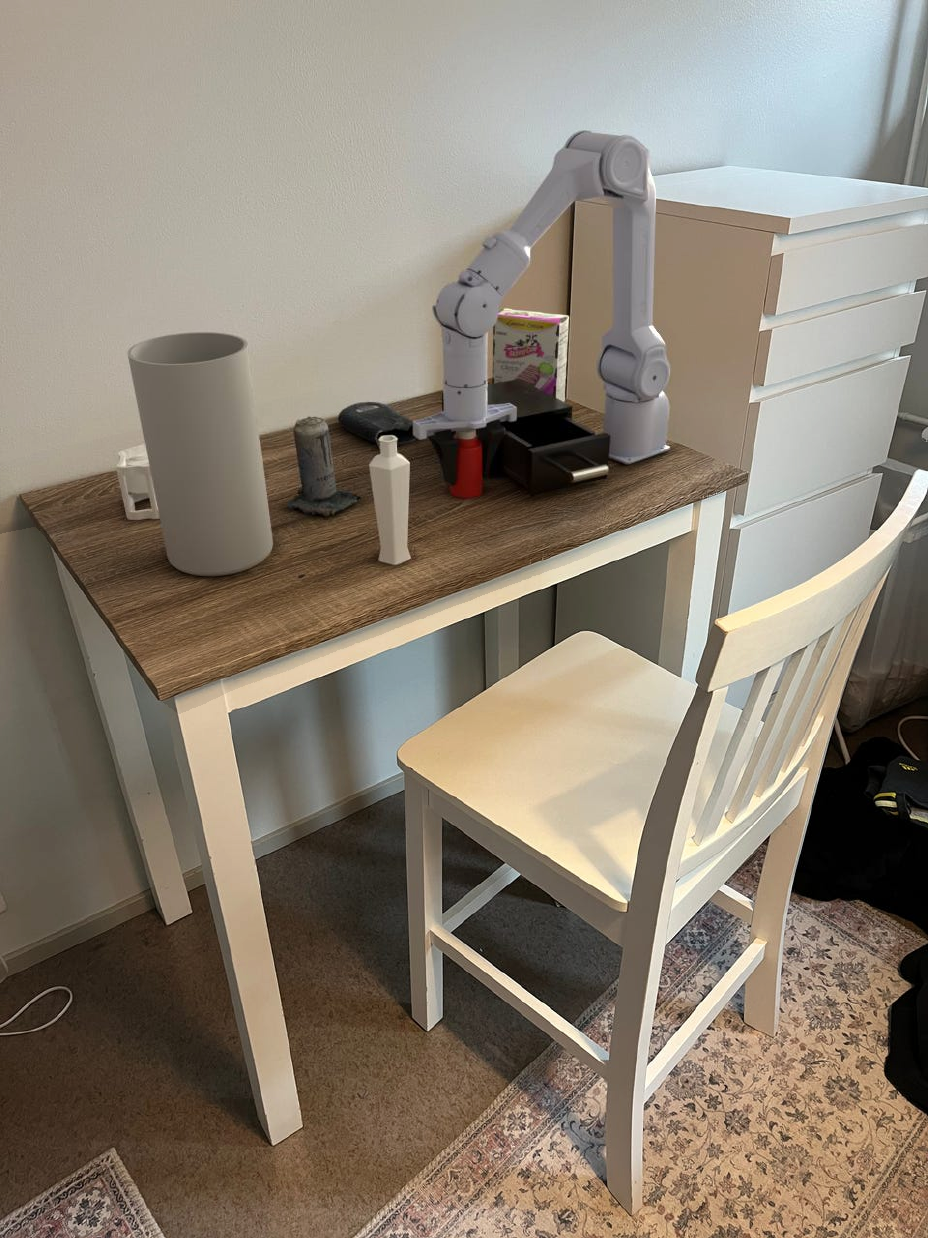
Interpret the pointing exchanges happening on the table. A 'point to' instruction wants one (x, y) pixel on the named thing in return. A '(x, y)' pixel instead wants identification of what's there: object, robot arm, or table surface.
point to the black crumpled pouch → (376, 422)
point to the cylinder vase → (203, 450)
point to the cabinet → (522, 405)
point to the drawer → (552, 454)
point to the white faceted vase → (391, 500)
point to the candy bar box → (531, 349)
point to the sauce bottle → (468, 465)
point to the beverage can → (317, 470)
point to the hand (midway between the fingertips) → (466, 479)
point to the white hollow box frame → (136, 482)
